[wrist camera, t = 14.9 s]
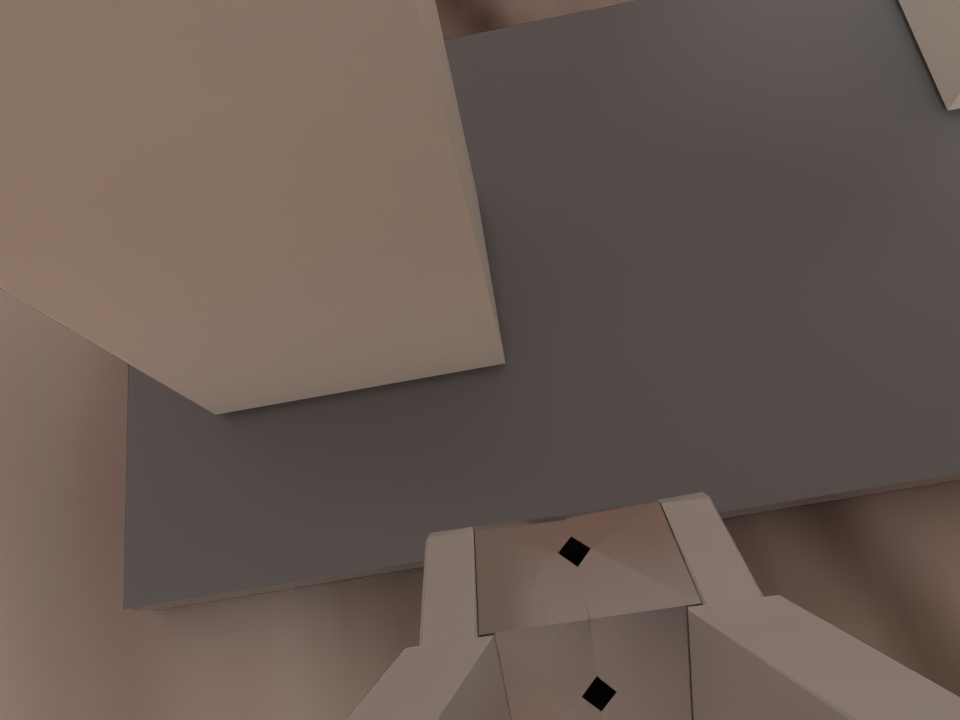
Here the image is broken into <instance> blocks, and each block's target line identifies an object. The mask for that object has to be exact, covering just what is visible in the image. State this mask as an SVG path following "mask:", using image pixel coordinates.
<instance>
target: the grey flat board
mask: <svg viewBox="0 0 960 720" xmlns="http://www.w3.org/2000/svg"><path fill="white" fill-rule="evenodd" d="M444 44H445V48H446V53H447V57H448V62H449V67H450V71H451V76H452V81H453V85H454V90H455V94H456V99H457V104H458V108H459V113H460V118H461V122H462V127H463V132H464V136H465V141H466V145H467V150H468V155H469V159H470V164H471V169H472V173H473V178H474V183H475V187H476V192H477V197H478V203H479V209H480V215H481V221H482V227H483V233H484V239H485V245H486V251H487V257H488V263H489V269H490V275H491V281H492V286H493V292H494V298H495V304H496V310H497V316H498V322H499V328H500V334H501V340H502V346H503V352H504V358H505V364H499V365H494V366H488V367H482V368H477V369H471V370H466V371H460V372H454V373H449V374H443V375H437V376H432V377H426V378H420V379H415V380H409V381H403V382H398V383H392V384H386V385H381V386H375V387H369V388H364V389H358V390H352V391H347V392H341V393H335V394H330V395H324V396H319V397H313V398H307V399H302V400H296V401H290V402H285V403H279V404H273V405H268V406H262V407H256V408H251V409H245V410H239V411H234V412H228V413H222V414H217V415H215V414H213V413H212V412H210V411H208V410H206V409H205V408H203V407H201V406H200V405H198V404H196V403H195V402H193V401H191V400H189V399H188V398H186V397H184V396H183V395H181V394H179V393H177V392H176V391H174V390H172V389H171V388H169V387H167V386H166V385H164V384H162V383H160V382H159V381H157V380H155V379H154V378H152V377H150V376H148V375H147V374H145V373H143V372H142V371H140V370H138V369H136V368H135V367H133V366H131V365H130V364H128V411H127V462H126V513H125V564H124V609H130V610H161V609H167V608H173V607H179V606H186V605H192V604H198V603H204V602H210V601H216V600H223V599H229V598H235V597H241V596H247V595H253V594H260V593H266V592H272V591H278V590H284V589H290V588H297V587H303V586H309V585H315V584H321V583H328V582H334V581H340V580H346V579H352V578H358V577H365V576H371V575H377V574H383V573H389V572H395V571H402V570H408V569H414V568H420V567H424V559H425V542H426V540H427V537H428V535H429V533H432V532H439V531H446V530H453V529H460V528H467V527H473V528H476V526H481V525H489V524H497V523H505V522H513V521H521V520H529V519H537V518H545V517H552V516H560V515H566V516H567V515H573V514H580V513H586V512H593V511H599V510H606V509H613V508H619V507H626V506H632V505H639V504H645V503H652V502H657V500H660V499H665V498H671V497H677V496H682V495H688V494H694V493H699V492H703V493H705V494H707V495H708V496H709V497H710V498H711V500H712V502H713V504H714V506H715V508H716V510H717V511H718V513H719V515H720V517H721V519H722V518H728V517H735V516H741V515H747V514H753V513H759V512H765V511H772V510H778V509H784V508H790V507H796V506H803V505H809V504H815V503H821V502H827V501H833V500H840V499H846V498H852V497H858V496H864V495H870V494H877V493H883V492H889V491H895V490H901V489H907V488H914V487H920V486H926V485H932V484H938V483H944V482H951V481H957V480H960V108H959V109H954V110H949V111H948V110H947V108H946V106H945V104H944V101H943V99H942V97H941V95H940V92H939V90H938V88H937V86H936V83H935V81H934V79H933V77H932V74H931V72H930V70H929V68H928V65H927V63H926V61H925V59H924V56H923V54H922V52H921V50H920V47H919V45H918V43H917V41H916V39H915V36H914V34H913V32H912V30H911V27H910V25H909V23H908V21H907V18H906V16H905V14H904V12H903V9H902V7H901V5H900V3H899V0H639V1H634V2H629V3H624V4H619V5H614V6H609V7H604V8H599V9H594V10H589V11H585V12H580V13H575V14H570V15H565V16H560V17H555V18H550V19H545V20H540V21H535V22H530V23H525V24H520V25H516V26H511V27H506V28H501V29H496V30H491V31H486V32H481V33H476V34H471V35H466V36H461V37H456V38H451V39H447V40H444Z"/></svg>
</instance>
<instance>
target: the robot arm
mask: <svg viewBox="0 0 960 720" xmlns="http://www.w3.org/2000/svg"><path fill="white" fill-rule="evenodd" d="M346 720H960V697H959V696H957V695H955V694H953V693H952V692H950V691H948V690H946V689H945V688H943V687H941V686H939V685H937V684H936V683H934V682H932V681H930V680H929V679H927V678H925V677H923V676H922V675H920V674H918V673H916V672H915V671H913V670H911V669H909V668H908V667H906V666H904V665H902V664H900V663H899V662H897V661H895V660H893V659H892V658H890V657H888V656H886V655H885V654H883V653H881V652H879V651H878V650H876V649H874V648H872V647H871V646H869V645H867V644H865V643H863V642H862V641H860V640H858V639H856V638H855V637H853V636H851V635H849V634H848V633H846V632H844V631H842V630H841V629H839V628H837V627H835V626H834V625H832V624H830V623H828V622H826V621H825V620H823V619H821V618H819V617H818V616H816V615H814V614H812V613H811V612H809V611H807V610H805V609H804V608H802V607H800V606H798V605H797V604H795V603H793V602H791V601H789V600H788V599H786V598H784V597H782V596H781V595H772V596H765V597H764V596H763V594H762V592H761V590H760V589H759V587H758V585H757V583H756V581H755V579H754V578H753V576H752V574H751V572H750V570H749V568H748V567H747V565H746V563H745V561H744V559H743V557H742V556H741V554H740V552H739V550H738V548H737V546H736V544H735V543H734V541H733V539H732V537H731V535H730V533H729V532H728V530H727V528H726V526H725V524H724V522H723V521H722V519H721V517H720V515H719V513H718V511H717V510H716V508H715V506H714V504H713V502H712V500H711V498H710V497H709V496H708V495H707V494H705V493H703V492H699V493H694V494H688V495H682V496H677V497H671V498H665V499H660V500H657V502H652V503H645V504H639V505H632V506H626V507H619V508H613V509H606V510H599V511H593V512H586V513H580V514H573V515H567V516H566V515H560V516H552V517H545V518H537V519H529V520H521V521H513V522H505V523H497V524H489V525H481V526H476V528H473V527H467V528H460V529H453V530H446V531H439V532H432V533H429V535H428V537H427V540H426V542H425V559H424V575H423V592H422V608H421V625H420V642H419V646H414V647H408V648H404V649H403V651H402V652H401V653H400V654H399V656H398V657H397V658H396V659H395V660H394V662H393V663H392V664H391V665H390V666H389V668H388V669H387V670H386V671H385V672H384V674H383V675H382V676H381V677H380V679H379V680H378V681H377V682H376V683H375V685H374V686H373V687H372V688H371V689H370V691H369V692H368V693H367V694H366V695H365V697H364V698H363V699H362V700H361V701H360V703H359V704H358V705H357V706H356V708H355V709H354V710H353V711H352V712H351V714H350V715H349V716H348V717H347V718H346Z"/></svg>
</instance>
